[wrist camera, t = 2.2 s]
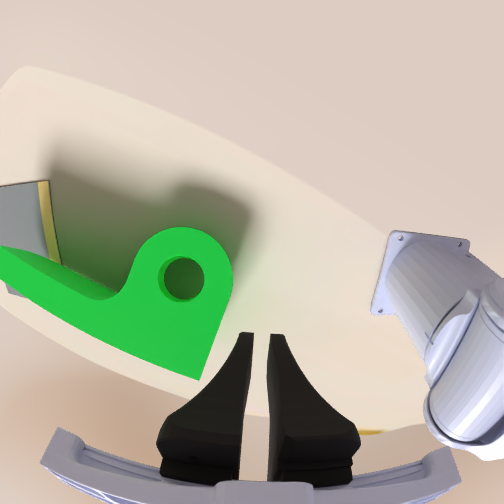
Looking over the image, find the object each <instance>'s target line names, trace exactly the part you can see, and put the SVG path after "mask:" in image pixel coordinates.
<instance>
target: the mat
mask: <svg viewBox="0 0 504 504" xmlns="http://www.w3.org/2000/svg"><path fill="white" fill-rule="evenodd" d="M0 245H2V246H7V247H12V248H17V249H22V250H26V251H30V252H33V253H35V254H38V255H41V256H43V257H45V258H48V259H50V260H52V261H54V262H56V263H58V264H60V265H62V263H61V258H60V253H59V248H58V243H57V238H56V232H55V226H54V220H53V213H52V205H51V196H50V186H49V181H42V182H34V183H26V184H18V185H11V186H5V187H0ZM5 284H6V283H5ZM6 287H7V290H8V293H10V294H14V295H17V296H21V297H24V298H26V297H25V296H23V295H22V294H21V293H19V292H18V291H16V290H15V289H13V288H12V287H11V286H9V285H8V284H6Z"/></svg>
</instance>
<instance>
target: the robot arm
mask: <svg viewBox="0 0 504 504" xmlns="http://www.w3.org/2000/svg"><path fill="white" fill-rule="evenodd" d="M400 235H402V238H401V239H398V238H399V236H400ZM459 243H460V244H459ZM458 244H459V245H458ZM469 247H470V242H469V241H468V240H466V239H461V238H454V237H446V236H439V235H431V234H423V233H415V232H405V231H397V230H394V231H392V232H391V233H390V235H389V239H388V243H387V248H386V252H385V256H384V260H383V264H382V268H381V272H380V276H379V280H378V283H377V287H376V290H375V294H374V297H373V301H372V304H371V307H370V312H371V314H372V315H396V316H397V317H398V319H399V320H400V322H401V324H402V325H403V327H404V329H405V330H406V332H407V334H408V335H409V337H410V339H411V340H412V342H413V344H414V345H415V347H416V349H417V351H418V352H419V354H420V356H421V358H422V360H423V361H424V363H425V365H426V367H427V373H426V375H425V380H426V382H427V384H428V386H429V388H430V391H429V392H428V394H427V395H426V398H425V400H424V405H423V413H424V419H425V422H426V424H427V426H428V428H429V430H430V431H431V433H432V434H433V435H434V436H435V437H436V438H437V439H438V440H439V441H440V442H442V443H444V444H445V445H447V446H446V447H443V448H440V449H437V450H434V451H432V452H430V453H428V454H427V455H426V456H424V458H422V460H419V461H416V462H413V463H409V464H405V465H402V466H398V467H394V468H390V469H385V470H381V471H376V472H372V473H366V474H360V475H355V476H352V471H351V466H352V465H353V462H352V456H353V455H354V454H355V453H356V451H357V450H358V449H359V447H360V445H361V441H360V437H359V434H358V431H357V429H356V426H355V424H354V423H352V422H351V421H349V420H348V419H347V418H345V417H344V416H342V415H341V414H340V413H339V412H337V411H336V410H335V409H334V408H333V407H332V406H331V405H330V404H328V403H327V402H326V401H325V400H324V399H323V398H322V397H321V396H320V394H319V393H318V392H317V391H316V390H315V389H314V387H313V386H312V385H311V384H310V382H309V381H308V380H307V378H306V377H305V375H304V374H303V372H302V371H301V369H300V367H299V366H298V364H297V362H296V360H295V359H294V357H293V355H292V353H291V351H290V349H289V346H288V344H287V341H286V339H285V336H284V335H283V334H271V335H270V343H269V351H268V359H267V390H268V402H269V413H270V434H269V459H268V475H267V481H243V480H239V469H240V455H241V443H242V431H243V419H244V412H245V407H246V401H247V396H248V390H249V384H250V379H251V367H252V354H253V340H254V333H249V332H241V333H239V337H238V339H237V342H236V344H235V346H234V348H233V350H232V352H231V353H230V355H229V357H228V359H227V360H226V362H225V363H224V365H223V366H222V367H221V369H220V370H219V372H218V373H217V374H216V375H215V377H214V378H213V379H212V380H211V381H210V382H209V383H208V385H207V386H206V387H205V388H204V389H203V390H202V391H201V392H200V393H198V394H197V395H196V396H195V397H194V398H193V399H191V400H190V401H189V402H188V403H187V404H185V405H184V406H183V407H181V408H180V409H178V410H176V411H175V412H173V413H172V414H170V415H169V416H168V417H167V419H166V420H165V422H164V423H163V425H162V427H161V429H160V432H159V435H158V438H157V441H156V445H157V448H158V450H159V452H160V453H161V455H162V457H163V459H162V463H161V467H160V468H157V467H153V466H149V465H145V464H141V463H138V462H134V461H131V460H128V459H124V458H121V457H118V456H115V455H112V454H109V453H107V452H104V451H101V450H98V449H96V448H93V447H91V446H88V445H86V444H85V443H84V442H83V440H82V439H81V438H80V437H78V436H77V435H75V434H73V433H71V432H68V431H66V430H64V429H62V428H60V427H58V428H57V429H56V431H55V433H54V435H53V437H52V439H51V441H50V443H49V445H48V447H47V449H46V451H45V453H44V455H43V457H42V459H41V461H40V464H41V465H42V466H44V467H45V468H46V469H47V470H49V471H50V472H51V473H52V474H53V475H55V476H56V477H57V478H59V479H60V480H61V481H62V482H64V483H65V484H67V485H70V486H71V487H73V488H75V489H77V490H79V491H81V492H84V493H86V494H88V495H90V496H93V497H94V498H97V499H99V500H101V501H103V502H106V503H108V504H425V503H428V502H430V501H432V500H435V499H436V498H438V497H440V496H441V495H443V494H444V493H446V492H448V491H449V490H451V489H452V488H454V487H455V486H457V485H458V484H460V483H461V478H460V475H459V472H458V469H457V466H456V463H455V461H454V458H453V455H452V453H451V450H450V447H453V448H457V449H464V450H467V451H470V452H472V453H473V454H475V455H477V456H478V457H479V458H480V459H482V460H483V461H489V460H495V459H502V458H504V278H501V277H500V276H499V275H498V274H496V273H495V272H494V271H493V270H491V269H490V268H489V267H488V266H486V265H485V264H484V263H483V262H481V261H480V260H479V259H477V258H476V257H475V256H473V255H472V254H471V253H469V252H468V250H469ZM381 308H382V309H381ZM379 309H381V310H380V311H378V310H379ZM449 446H450V447H449Z"/></svg>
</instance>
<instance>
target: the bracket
mask: <svg viewBox="0 0 504 504" xmlns="http://www.w3.org/2000/svg"><path fill="white" fill-rule="evenodd" d="M180 258H188V259H191V260H193V261H195V262H196V263H198V264H199V265H200V267H201V268H202V270H203V273H204V285H203V288H202V290H201V291H200V293H199V294H198V295H196V296H195V297H193V298H190V299H179V298H176V297H174V296H173V295H171V294H170V293H169V292H168V290H167V289H166V286H165V283H164V274H165V271H166V269H167V267H168V266H169V264H170V263H172V262H173V261H175V260H177V259H180ZM0 279H1V280H2V281H4V282H5V283H6V284H8V285H9V286H11V287H12V288H13V289H15V290H16V291H18V292H19V293H21V294H22V295H23V296H25V297H26V298H28V299H29V300H31V301H32V302H34V303H36V304H37V305H39V306H40V307H42V308H43V309H45V310H47V311H48V312H50V313H52V314H53V315H55V316H57V317H58V318H60V319H62V320H64V321H65V322H67V323H69V324H71V325H72V326H74V327H76V328H78V329H80V330H82V331H84V332H85V333H87V334H89V335H91V336H93V337H95V338H97V339H99V340H101V341H103V342H105V343H107V344H109V345H111V346H114V347H116V348H118V349H120V350H122V351H124V352H127V353H129V354H131V355H133V356H136V357H138V358H140V359H143V360H145V361H148V362H150V363H152V364H155V365H157V366H160V367H163V368H165V369H168V370H170V371H173V372H176V373H179V374H181V375H184V376H187V377H190V378H193V379H196V380H200V377H201V374H202V372H203V369H204V366H205V364H206V361H207V358H208V355H209V353H210V350H211V347H212V344H213V342H214V339H215V336H216V334H217V331H218V328H219V325H220V323H221V320H222V317H223V314H224V312H225V309H226V306H227V304H228V301H229V298H230V295H231V292H232V286H233V273H232V268H231V264H230V261H229V258H228V256H227V254H226V253H225V251H224V249H223V248H222V247H221V245H220V244H219V243H218V242H217V241H216V240H215V239H213V238H212V237H211V236H209V235H208V234H206V233H204V232H202V231H200V230H197V229H194V228H188V227H174V228H169V229H166V230H163V231H161V232H158V233H157V234H155V235H153V236H152V237H151V238H149V239H148V240H147V241H146V242H145V243H144V244H143V245H142V247H141V248H140V250H139V251H138V253H137V255H136V257H135V259H134V262H133V265H132V267H131V270H130V273H129V276H128V278H127V281H126V283H125V285H124V286H123V288H122V289H121V290H120V291H119V292H118V293H117V292H114V291H112V290H110V289H108V288H106V287H104V286H102V285H99V284H97V283H95V282H93V281H91V280H89V279H87V278H85V277H83V276H81V275H79V274H77V273H75V272H73V271H71V270H70V269H68V268H66V267H64V266H62V265H60V264H58V263H56V262H54V261H52V260H50V259H48V258H45V257H43V256H41V255H38V254H35V253H33V252H30V251H26V250H22V249H17V248H12V247H7V246H2V245H0Z"/></svg>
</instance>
